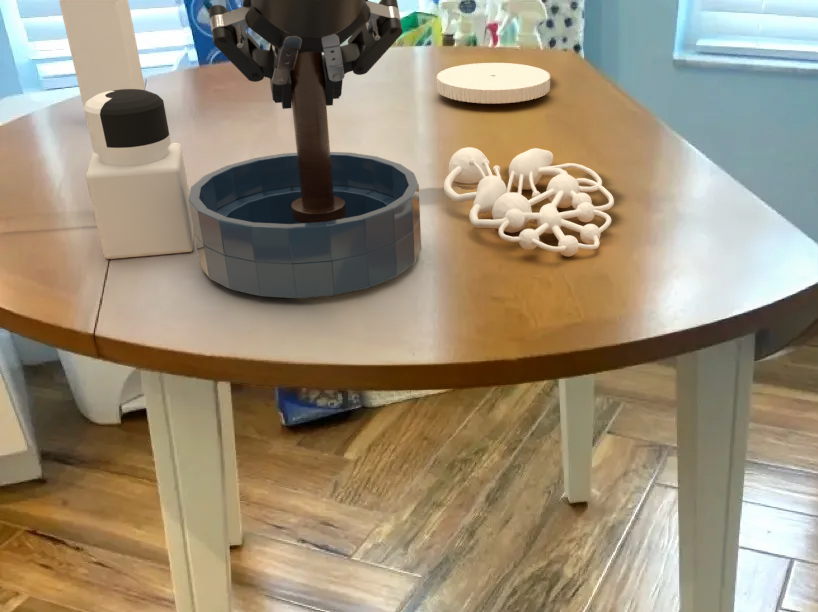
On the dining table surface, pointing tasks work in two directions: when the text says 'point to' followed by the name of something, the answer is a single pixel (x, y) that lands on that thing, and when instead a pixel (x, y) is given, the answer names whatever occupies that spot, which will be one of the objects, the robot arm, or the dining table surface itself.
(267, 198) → the bowl
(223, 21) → the robot arm
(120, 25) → the milk
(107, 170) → the medicine bottle
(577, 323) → the dining table surface
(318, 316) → the dining table surface
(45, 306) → the dining table surface
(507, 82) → the plastic lid
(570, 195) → the tangled rod sculpture
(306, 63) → the stick
